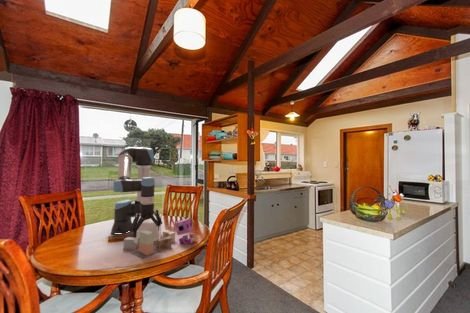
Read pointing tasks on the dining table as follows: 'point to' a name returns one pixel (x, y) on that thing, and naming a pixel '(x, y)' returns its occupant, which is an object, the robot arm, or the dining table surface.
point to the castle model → (149, 227)
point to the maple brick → (170, 234)
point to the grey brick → (130, 243)
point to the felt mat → (144, 254)
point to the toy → (185, 230)
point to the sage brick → (146, 237)
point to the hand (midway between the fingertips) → (146, 239)
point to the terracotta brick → (145, 248)
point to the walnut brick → (163, 243)
